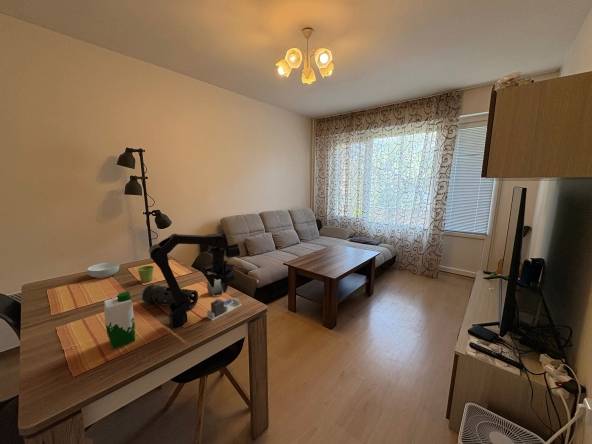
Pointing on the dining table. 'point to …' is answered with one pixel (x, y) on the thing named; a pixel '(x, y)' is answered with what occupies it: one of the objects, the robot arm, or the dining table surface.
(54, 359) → the dining table surface
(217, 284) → the ceramic mug
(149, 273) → the plant pot
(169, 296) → the muzzle brake
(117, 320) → the milk carton
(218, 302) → the dark grey knobbed block
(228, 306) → the white ridged plate
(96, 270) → the cereal bowl
